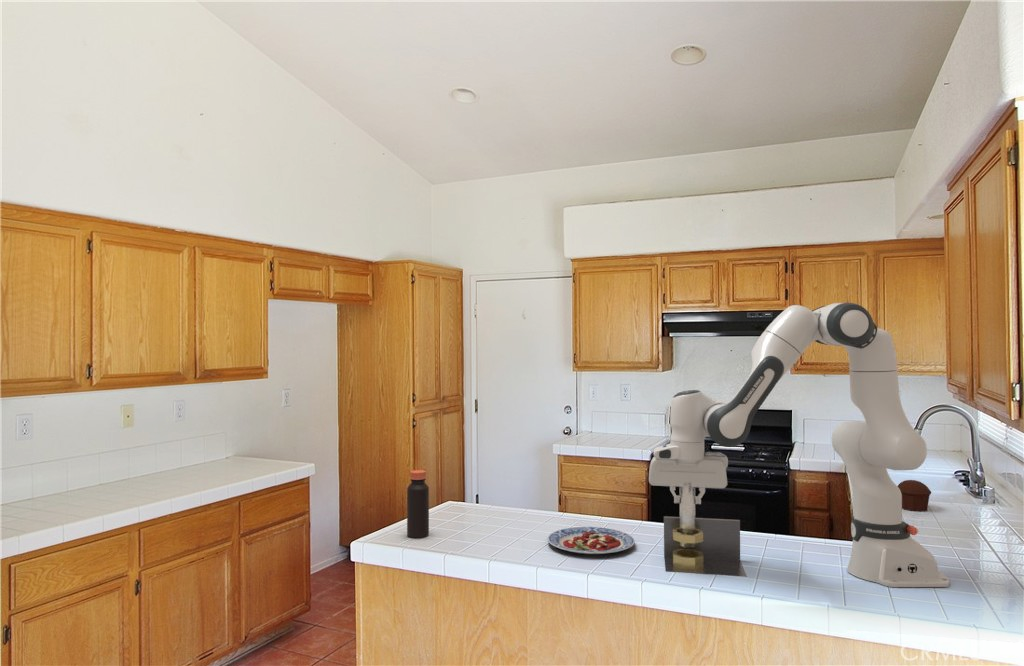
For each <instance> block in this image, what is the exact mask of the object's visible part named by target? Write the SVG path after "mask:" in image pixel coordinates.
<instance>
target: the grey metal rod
mask: <svg viewBox="0 0 1024 666" xmlns="http://www.w3.org/2000/svg"><path fill="white" fill-rule="evenodd" d="M679 496H680V503H679V517H680V531H679V533H682V534H692V535H693V534H696V532H695V518H696V504H695V496H696V487H692V485H691V483H686V482H684V486H683V487H679ZM680 546H682V547H686V548H692V547H695V543H682V542H680Z"/></svg>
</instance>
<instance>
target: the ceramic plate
mask: <svg viewBox="0 0 1024 666" xmlns="http://www.w3.org/2000/svg"><path fill="white" fill-rule="evenodd" d="M546 540H547V542H548V543H549V544H550V545H551V546H553V547H555V548H558V549H560V550H564V551H566V552H571V553H576V554H580V555H582V554H583V555H597V556H598V555H607V554H611V553H612V554H613V553H618V552H622V551H625V550H627V549H630V548H632V547H633V546H634V544H636V543H635V541H636V540H635V538H634V537H633V536H632V535H630V534H628V533H627V532H625V531H624V532H623V531H621V530H617V529H614V528H607V527H598V526H575V527H567V528H562V529H558V530H554V531H553V532H552V533H550V534H549V535H548V536H547V539H546Z"/></svg>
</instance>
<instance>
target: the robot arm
mask: <svg viewBox="0 0 1024 666" xmlns="http://www.w3.org/2000/svg"><path fill="white" fill-rule="evenodd" d="M814 342H816V343H818V344H821V345H827V346H828V345H829V346H835V347H841V346H843V348H844V349H845V350H846V352H847V355H848V360H849V361H848V366H849V367H848V369H849V372H848V373H849V390H850V391H849V393H850V400H851V402H852V403H853V404H854V406H856V407H857V408H858V409H859V410H860V412H861V414H862V415H863V417H864V420H865V421H862V420H853V421H846V422H841V423H838V425H837V426H835V428H834V430H833V431H832V433H831V445H832V448H833V450H834V451H835V453H836V454H837V455H839V457H840V458H841V460H842V462H843V463H844V466H845V468H846V471H847V473H848V476H849V479H850V484H851V488H852V502H853V503H852V505H853V506H852V507H853V515H852V516H851V523H850V530H851V531H850V533H851V537H852V544H851V545H852V546H851V553H850V559H849V562H848V565H847V568H846V570H847V572H848V573H850V574H851V575H853V576H854V577H857V578H859V579H862V580H865V581H870V582H872V583H873V582H874V583H877V584H880V585H882V586H885V587H890V588H948V587H949V586H950V580H949V578H948V577H947V576H946V575H945V574H944V573H943V572H942V571H939V567H938V563H937V560H936V558H935V556H934V555H933V554H932V552H930V551H929V550H928V549H927V548H926V547H924V546H923V545H921V544H920V543H919V542H917V540H915V539H914V538H913V537H911V536H916V535H917V534H919V533H918V532H919V528H918V529H917V527H916V526H914V525H910V524H909V523H907V522H905V521H903V509H902V494H901V491H900V489H899V488H898V485H897V484H896V483H895V482H894V481H893V480H892V478H891V477H890V474H889V472H888V470H892V471H914V470H917V469H919V468H920V467H921V466H922V465H923V464H924V462H925V460H926V459H927V454H928V448H927V443H926V441H925V439H924V437H923V436H922V435H921V433H919V432H917V431H916V430H915V428H914V427H913V426H912V424H911V423H910V421H909V419H908V417H907V416H906V413H905V411H904V408H903V405H902V401H901V395H900V385H899V374H898V372H899V371H898V360H897V359H898V358H897V354H896V353H897V352H896V348H895V344H894V341H893V337H892V335H891V334H890V332H888V331H887V330H885V329H882V328H879V327H877V325H876V323H875V322H874V319H873V318H872V315H871V314H870V312H869V311H868V309H866V308H865V307H863V306H862V305H860V304H858V303H854V302H834V303H830V304H828V305H823V306H820V307H817V308H814V309H813V310H811V309H810V308H809V307H806V306H804V305H799V304H794V305H789V306H788V307H787V308H785V309H784V310H783V311H782V312H781V313H780V314H778V315H777V316H776V317H775V318H774V319H773V320H772V322H770V323H769V324H768V326H767V327H766V328H765V329H764V331H763V332H762V333H761V335H760V336H759V338H758V339H757V340H756V342H755V344H754V346H753V347H752V350H751V352H750V353H751V354H750V357H751V365H752V366H751V370H750V373H749V376H747V379H746V380H745V381H744V383H743V384H742V385H741V387H740V389H738V391H737V393H736V394H735V395H734V396H733V398H732V400H731V401H729V402H728V403H725V402H721V401H719V400H716V399H713V398H712V397H710V396H708V395H706V394H705V393H703V392H702V391H701V390H698V389H690V390H682V391H680V392H677V393H676V394H674V396H672V399H671V402H670V410H669V411H670V412H669V413H670V414H669V424H670V428H671V434H670V438H669V441H670V442H669V443H667V444H663V445H660V446H656V447H655V448H654V449H653V457H652V459H651V461H650V464H649V470H648V483H649V484H650V485H651V486H653V487H654V486H656V487H657V486H659V487H660V486H661V487H669V491H670V492H671V494H672V497H673V503H674V504H680V495H677V494H676V492H675V491H676V487H679V488H680V487H683V486H684V482H686V483H691V485H692V487H695V488H698V491H699V493H698V495H697V496H696V495H695V505H701V504H702V498H703V496H704V495H705V493H706V489H725V488H726V487H727V486H728V477H727V475H728V474H727V469H728V466H729V459H728V456H727V455H726V454H724V453H722V452H718V451H717V452H712V451H705V438H711V440H712V441H713V442H714V443H715V444H717V445H720V446H721V447H725V448H734V447H737V446H739V445H741V444H742V443H744V442H745V441H746V440H747V438H748V436H749V434H750V431H751V427H752V422H753V420H754V417H755V415H756V414H757V412H758V410H759V409H760V408H761V406H762V405H763V403H764V402H765V401H766V399H767V398H768V397H769V396H770V394H771V392H772V391H773V389H774V388H775V387H776V385H777V384H778V382H779V381H780V380H781V379H782V378H783V377H784V376H785V375H786V374H787V372H788V371H789V370H790V369H792V368H793V366H794V365H795V363H796V362H798V360H799V359H800V357H801V356H802V355H803V354H804V352H805V351H806V349H807V348H808V347H809V346H810V345H812V343H814Z"/></svg>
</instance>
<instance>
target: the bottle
mask: <svg viewBox="0 0 1024 666" xmlns="http://www.w3.org/2000/svg"><path fill="white" fill-rule="evenodd" d="M409 478H410V484H409V485H408V486H407V488H406V499H407V500H406V509H407V510H406V513H407V514H406V517H407V518H406V519H407V520H406V524H407V525H406V529H407V531H406V533H407V534H406V535H407V537H408V538H412V539H424V538H425V537H428V536H429V534H430V525H429V523H430V522H429V521H430V511H429V509H430V501H429V500H430V488H429V485H427V484H426V479H427V471H426V470H423V469H415V470H411V471H409Z"/></svg>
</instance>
